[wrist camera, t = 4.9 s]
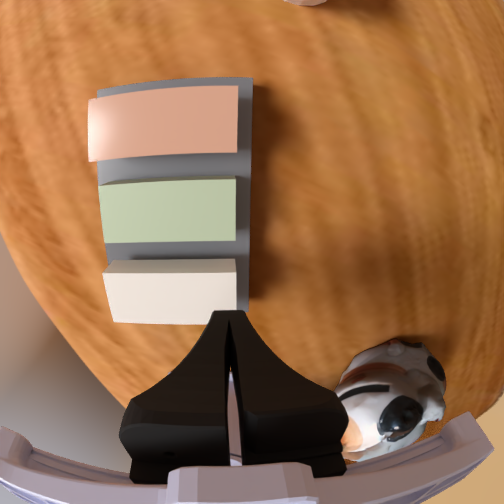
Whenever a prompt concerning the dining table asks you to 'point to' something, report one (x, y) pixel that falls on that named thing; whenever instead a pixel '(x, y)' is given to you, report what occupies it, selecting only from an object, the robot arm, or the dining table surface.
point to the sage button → (169, 209)
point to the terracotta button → (163, 122)
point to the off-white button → (170, 290)
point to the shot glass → (306, 2)
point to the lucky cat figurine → (390, 398)
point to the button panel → (193, 166)
